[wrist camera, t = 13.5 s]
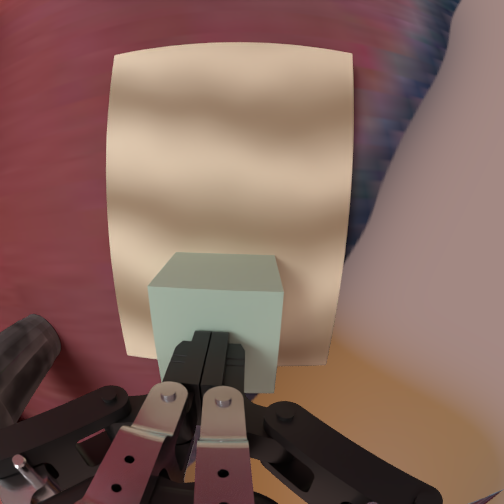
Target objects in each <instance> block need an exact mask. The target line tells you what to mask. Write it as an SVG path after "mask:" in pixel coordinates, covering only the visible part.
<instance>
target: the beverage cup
mask: <svg viewBox="0 0 504 504" xmlns="http://www.w3.org/2000/svg"><path fill="white" fill-rule="evenodd" d="M60 351H61V344H60V340H59V337H58V335H57V333H56V331H55V330H54V329H53V327H52V326H51V324H50V323H48V322H47V321H46V320H45V319H44V318H42V317H41V316H39V315H36V314H31V315H29V316H28V317H26V318H24V319H22V320H19V321H17V322H16V323H14V324H13V325H11V326H10V327H8V328H7V329H5V330H4V331H2V332H0V429H2V428H5V427H7V426H10V425H13V424H16V423H17V421H18V419H19V417H20V416H21V414H22V412H23V411H24V409H25V407H26V406H27V404H28V402H29V401H30V399H31V397H32V396H33V394H34V392H35V391H36V389H37V388H38V386H39V385H40V383H41V381H42V380H43V378H44V377H45V375H46V374H47V372H48V371H49V369H50V368H51V366H52V364H53V362H54V360H55V359H56V357H57V356H58V355H59V353H60Z"/></svg>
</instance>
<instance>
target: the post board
mask: <svg viewBox="0 0 504 504" xmlns="http://www.w3.org/2000/svg"><path fill="white" fill-rule="evenodd" d="M353 131H354V88H353V60H352V53H347V52H341V51H335V50H329V49H323V48H315V47H307V46H299V45H288V44H275V43H252V42H222V43H200V44H186V45H176V46H167V47H159V48H152V49H145V50H139V51H134V52H128V53H123V54H118V55H115V57H114V63H113V71H112V78H111V87H110V97H109V109H108V123H107V147H106V189H107V214H108V229H109V241H110V252H111V261H112V270H113V277H114V285H115V291H116V298H117V304H118V310H119V316H120V321H121V326H122V331H123V336H124V341H125V346H126V350H127V355H130V356H137V357H145V358H152V359H157V353H156V347H155V341H154V334H153V327H152V320H151V313H150V305H149V296H148V287H147V286H148V285H149V284H150V282H151V281H152V280H153V279H154V278H155V276H156V275H157V274H158V273H159V272H160V270H161V269H162V268H163V267H164V266H165V264H166V263H167V262H168V261H169V260H170V259H171V257H172V256H173V255H174V254H175V253H176V252H189V253H220V254H251V255H275V259H276V262H277V266H278V270H279V274H280V278H281V283H282V287H283V291H284V296H283V308H282V319H281V330H280V341H279V351H278V361H277V366H309V365H326V363H327V357H328V353H329V348H330V343H331V338H332V332H333V327H334V322H335V316H336V310H337V304H338V298H339V291H340V285H341V278H342V271H343V263H344V255H345V247H346V238H347V229H348V219H349V207H350V195H351V180H352V162H353Z"/></svg>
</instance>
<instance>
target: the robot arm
mask: <svg viewBox="0 0 504 504" xmlns="http://www.w3.org/2000/svg"><path fill="white" fill-rule="evenodd" d="M244 379H245V350H244V348H243V347H242V345H241V344H233V343H229V332H214V331H213V332H212V331H196V330H195V332H194V335H193V338H192V341H182V342H181V343H179V344H178V345H177V346H176V347H175V350H174V352H173V356H172V357H171V360H170V362H169V365H168V368H167V370H166V373H165V375H164V378H163V381H162V382H161V383H159V384H157V385H155V386H154V387H153V388H152V389H151V390H150V392H149V394H146V395H140V396H128V394H127V392H126V391H125V390H124V389H123V388H121V387H118V386H105V387H102V388H99V389H97V390H95V391H93V392H91V393H88V394H86V395H84V396H81V397H79V398H77V399H75V400H72V401H70V402H68V403H65V404H63V405H61V406H58V407H56V408H53V409H51V410H49V411H46V412H44V413H41V414H39V415H36V416H34V417H31V418H29V419H26V420H23V421H21V422H18V423H16V424H13V425H10V426H7V427H5V428H2V429H0V498H1V501H2V503H3V504H278V503H277V502H275V501H274V500H272V499H270V498H268V497H267V496H264V495H262V494H260V493H257V492H254V491H253V484H252V475H251V464H250V457H251V458H254V459H258V460H260V461H261V463H262V465H263V466H264V467H265V468H266V469H267V470H269V471H270V472H271V473H272V474H273V475H274V476H275V477H276V478H278V479H279V480H280V481H281V482H282V483H283V484H285V485H286V486H287V487H288V488H289V489H291V490H292V491H293V492H294V493H295V494H297V495H298V496H299V497H300V498H302V499H303V500H304V501H305V502H307V503H308V504H443V499H442V496H441V494H440V492H439V491H438V490H437V489H436V488H434V487H432V486H430V485H428V484H426V483H424V482H422V481H420V480H418V479H416V478H415V477H412V476H410V475H409V474H407V473H405V472H403V471H401V470H400V469H398V468H396V467H394V466H393V465H391V464H389V463H387V462H385V461H384V460H382V459H380V458H378V457H377V456H375V455H374V454H372V453H370V452H369V451H367V450H365V449H364V448H362V447H360V446H359V445H357V444H356V443H354V442H352V441H351V440H349V439H348V438H346V437H345V436H343V435H342V434H340V433H339V432H337V431H336V430H334V429H333V428H331V427H330V426H328V425H327V424H325V423H323V422H322V421H321V420H319V419H318V418H317V417H315V416H313V415H312V414H311V413H309V412H308V411H307V410H305V409H304V408H302V407H301V406H299V405H298V404H296V403H293V402H288V401H281V402H276V403H273V404H271V405H270V406H269V407H263V406H259V405H256V404H254V403H252V402H251V401H250V400H248V399H247V397H246V396H245V394H244ZM196 425H201V433H200V439H198V442H197V453H196V469H195V482H192V483H191V482H190V483H184V477H185V472H186V469H187V465H188V462H189V459H190V455H191V452H192V448H193V445H194V441H195V436H194V434H195V430H196ZM103 428H104V429H105V431H104V432H102V433H100V434H98V435H96V436H94V437H92V438H90V439H88V440H86V441H83V442H81V443H77V442H78V441H79V440H81V439H83V438H85V437H87V436H89V435H91V434H93V433H95V432H97V431H99V430H101V429H103ZM67 488H68V489H67ZM65 489H66V490H65ZM63 490H64V491H63ZM61 491H62V492H61Z"/></svg>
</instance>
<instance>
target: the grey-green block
mask: <svg viewBox="0 0 504 504" xmlns="http://www.w3.org/2000/svg"><path fill="white" fill-rule="evenodd" d="M147 287H148V296H149V305H150V313H151V320H152V327H153V334H154V341H155V347H156V353H157V359H158V365H159V370H160V375H161V381H163V378H164V375H165V373H166V370H167V368H168V365H169V362H170V360H171V357H172V356H173V352H174V350H175V347H176V346H177V345H178V344H179V343H181V342H182V341H192V338H193V335H194V332H195V330H196V331H212V332H213V331H214V332H229V343H233V344H241V345H242V347H243V348H244V350H245V379H244V393H274V389H275V380H276V370H277V361H278V351H279V341H280V330H281V319H282V308H283V296H284V291H283V287H282V283H281V278H280V274H279V270H278V266H277V262H276V259H275V255H251V254H220V253H189V252H176V253H175V254H174V255H173V256H172V257H171V259H170V260H169V261H168V262H167V263H166V264H165V266H164V267H163V268H162V269H161V270H160V272H159V273H158V274H157V275H156V276H155V278H154V279H153V280H152V281H151V282H150V284H149V285H148V286H147Z"/></svg>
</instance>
